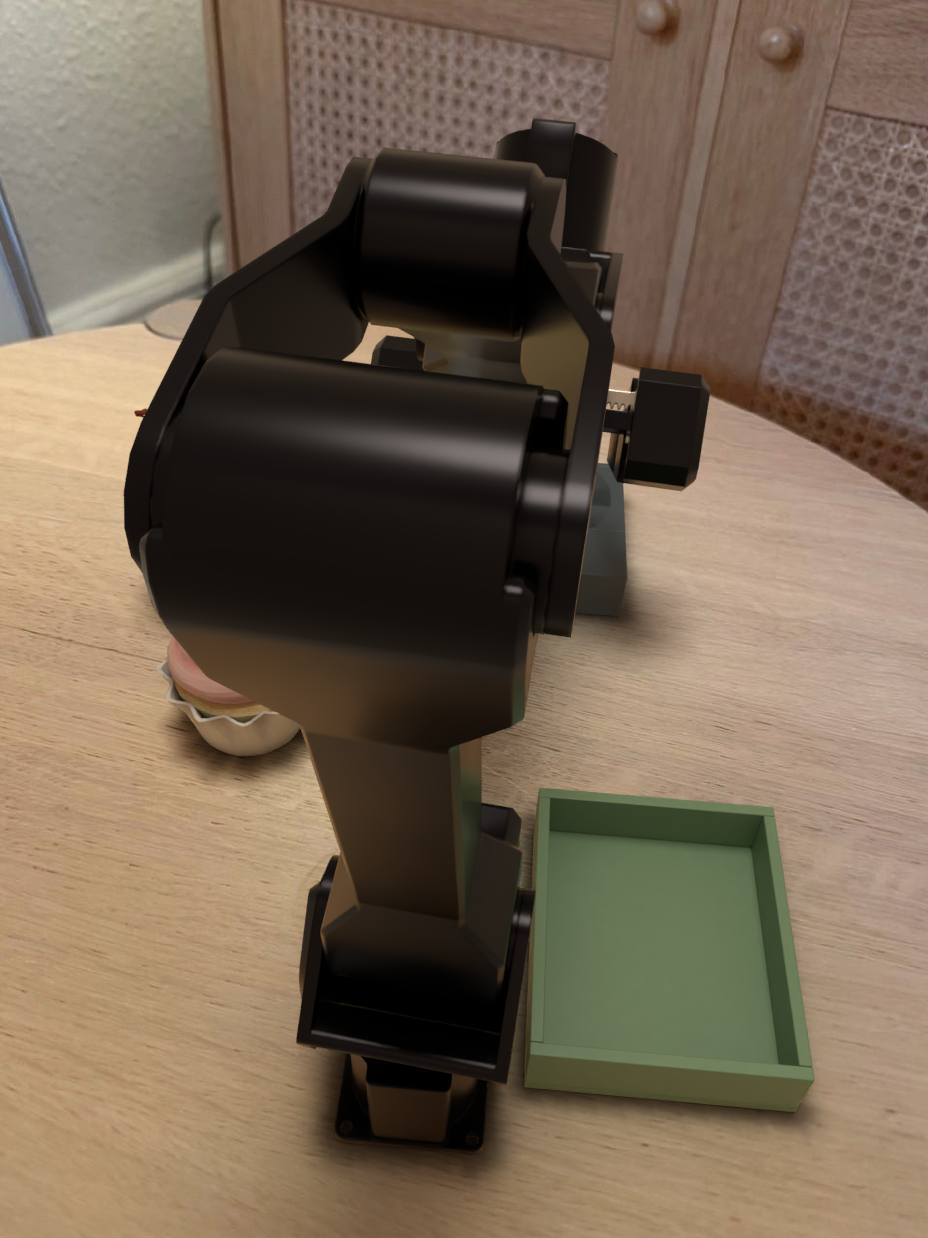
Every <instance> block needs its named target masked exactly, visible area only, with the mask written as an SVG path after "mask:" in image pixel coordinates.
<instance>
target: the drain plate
mask: <svg viewBox="0 0 928 1238" xmlns="http://www.w3.org/2000/svg"><path fill="white" fill-rule="evenodd" d="M625 511H626V510H625V490H624V483H618V482H617V481H616V479H615V477H614V475H613V473H612V471H611V469H610V466H609V464H608V463H606V462H605V463H603V462H598V467H597V474H596V481H595V487H594V494H593V500H592V507H591V513H590V520H589V526H588V533H587V539H586V546H585V552H584V559H583V565H582V572H581V578H580V585H579V591H578V598H577V604H576V611H575V614H585V615H596V616H609V617H621V613H622V610H623V609H622V608H623V603H624V597H625V593H626V588H627V582H628V561H627V539H626V537H627V535H626V514H625V513H626V512H625Z"/></svg>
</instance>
